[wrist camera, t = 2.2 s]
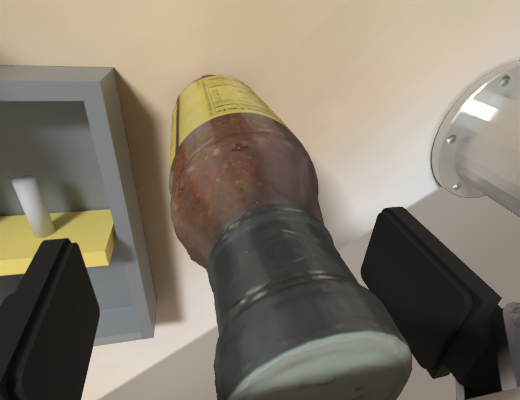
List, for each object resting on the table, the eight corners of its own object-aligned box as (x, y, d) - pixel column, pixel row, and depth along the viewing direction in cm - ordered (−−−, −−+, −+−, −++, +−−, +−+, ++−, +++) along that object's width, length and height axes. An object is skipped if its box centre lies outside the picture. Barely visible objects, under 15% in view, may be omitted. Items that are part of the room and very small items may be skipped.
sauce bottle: (228, 168, 25) (313, 489, 9) (156, 127, 22) (80, 491, 6) (278, 100, 23) (515, 356, 7) (205, 44, 20) (303, 256, 4)
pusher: (106, 160, 21) (89, 197, 18) (120, 221, 24) (108, 265, 20) (-36, 165, 20) (-90, 207, 16) (-4, 230, 23) (-43, 280, 19)
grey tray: (113, 67, 20) (99, 81, 16) (156, 301, 31) (153, 337, 28) (-98, 63, 17) (-163, 78, 14) (34, 317, 29) (15, 357, 26)
